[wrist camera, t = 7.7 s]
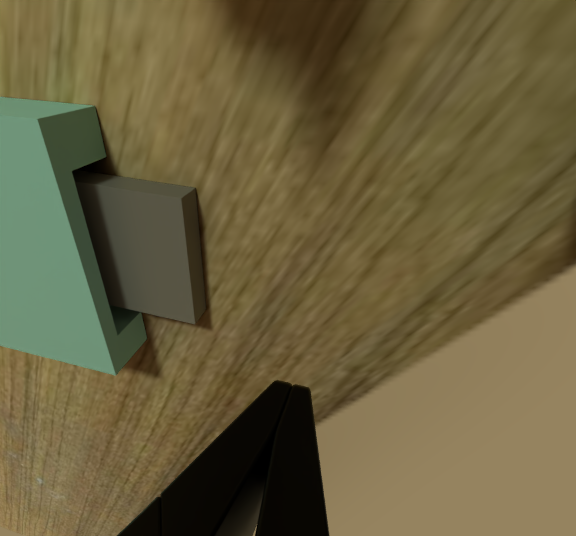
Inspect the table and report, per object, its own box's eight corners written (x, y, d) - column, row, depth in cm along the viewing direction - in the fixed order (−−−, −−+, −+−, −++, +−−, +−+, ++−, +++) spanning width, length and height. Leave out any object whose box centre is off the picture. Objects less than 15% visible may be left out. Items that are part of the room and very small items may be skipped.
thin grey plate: (195, 187, 19) (181, 198, 18) (206, 309, 24) (195, 324, 22) (19, 161, 21) (-6, 168, 20) (58, 277, 26) (40, 289, 24)
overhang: (95, 105, 18) (37, 118, 15) (147, 338, 27) (115, 375, 24) (-64, 90, 20) (-141, 100, 17) (30, 311, 29) (-12, 342, 26)
